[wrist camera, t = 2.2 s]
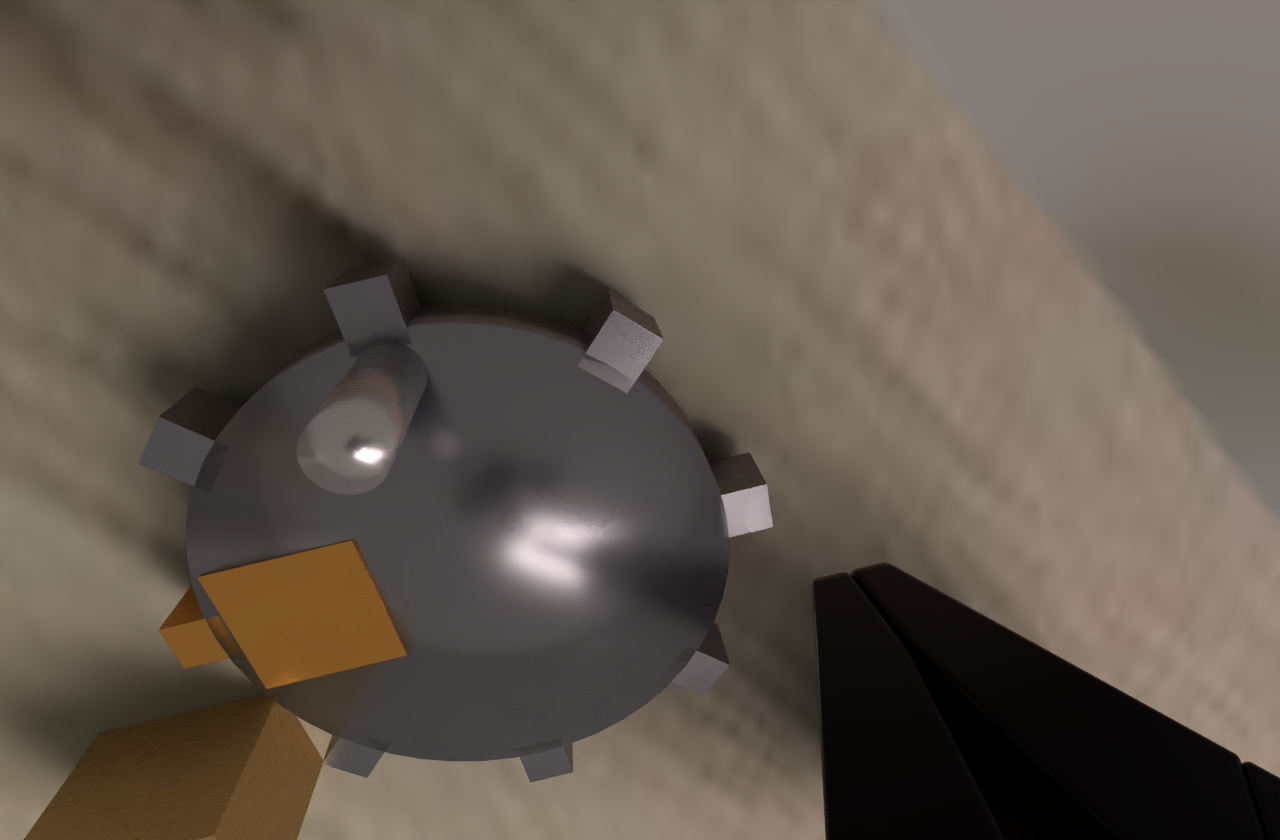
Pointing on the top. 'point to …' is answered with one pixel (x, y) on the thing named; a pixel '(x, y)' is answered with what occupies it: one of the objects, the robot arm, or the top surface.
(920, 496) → the top surface
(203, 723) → the orange banded block
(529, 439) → the sprocket
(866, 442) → the top surface
